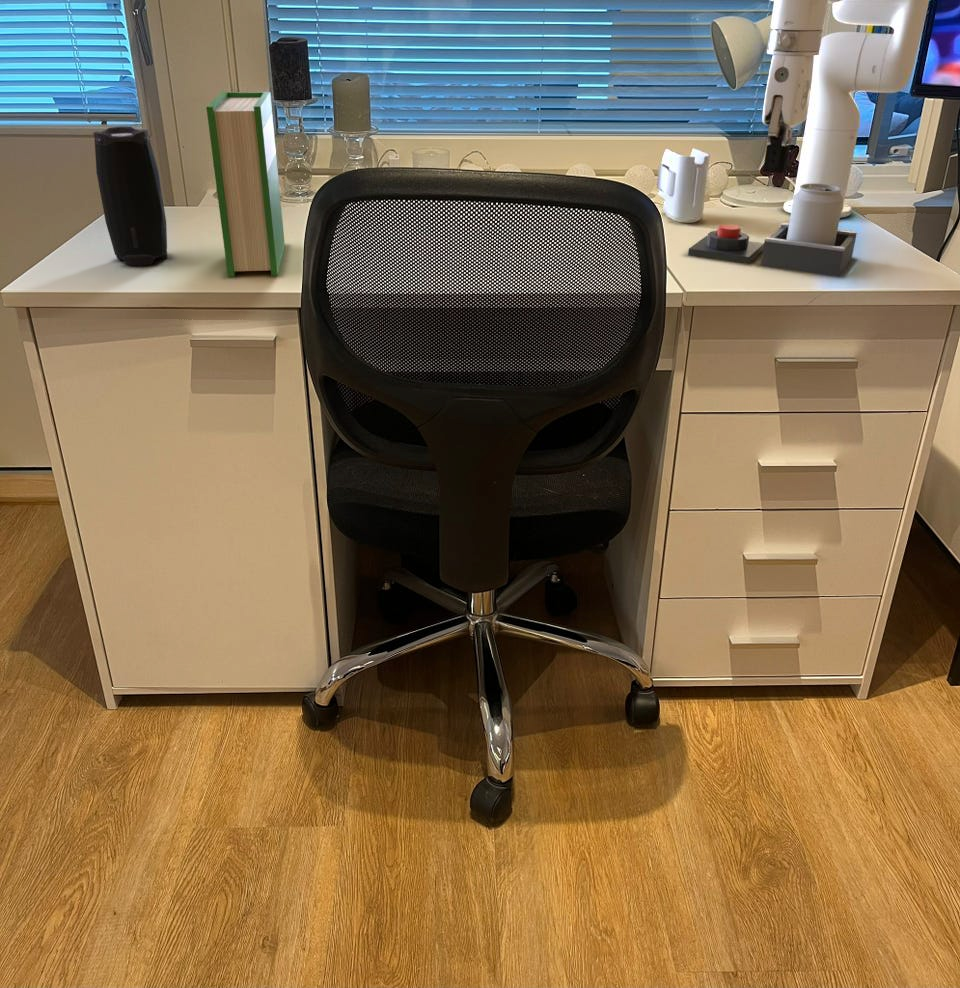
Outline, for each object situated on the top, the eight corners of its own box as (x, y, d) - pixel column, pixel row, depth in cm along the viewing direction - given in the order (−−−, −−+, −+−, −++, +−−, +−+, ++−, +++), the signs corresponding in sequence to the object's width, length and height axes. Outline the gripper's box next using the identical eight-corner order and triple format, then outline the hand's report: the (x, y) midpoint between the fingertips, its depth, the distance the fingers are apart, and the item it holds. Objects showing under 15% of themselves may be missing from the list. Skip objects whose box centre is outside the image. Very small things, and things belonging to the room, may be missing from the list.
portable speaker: (129, 251, 154) (107, 124, 144) (182, 254, 152) (163, 127, 142) (101, 265, 146) (76, 133, 137) (156, 269, 145) (134, 135, 135)
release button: (720, 233, 157) (721, 223, 156) (741, 236, 155) (743, 225, 154) (714, 238, 154) (715, 227, 153) (735, 241, 152) (737, 230, 152)
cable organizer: (682, 210, 183) (690, 145, 177) (708, 225, 173) (717, 157, 167) (650, 211, 182) (657, 146, 176) (675, 226, 171) (682, 158, 166)
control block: (705, 242, 162) (707, 225, 160) (763, 250, 158) (766, 232, 156) (687, 255, 154) (689, 237, 153) (748, 264, 150) (750, 245, 149)
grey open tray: (778, 249, 158) (782, 222, 156) (851, 258, 153) (857, 231, 151) (760, 266, 149) (764, 238, 147) (838, 277, 144) (843, 248, 142)
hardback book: (277, 275, 142) (260, 106, 130) (228, 276, 141) (206, 107, 130) (284, 245, 157) (270, 91, 146) (240, 246, 157) (221, 92, 145)
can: (833, 270, 147) (849, 192, 142) (784, 267, 149) (797, 189, 143) (828, 257, 154) (842, 182, 148) (781, 254, 155) (793, 180, 149)
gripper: (808, 48, 131) (786, 182, 140) (831, 40, 142) (809, 166, 151) (755, 45, 134) (737, 177, 143) (781, 38, 145) (763, 161, 155)
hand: (774, 171), depth 147 cm, fingers closed
